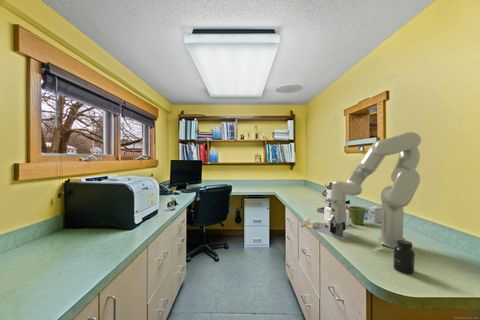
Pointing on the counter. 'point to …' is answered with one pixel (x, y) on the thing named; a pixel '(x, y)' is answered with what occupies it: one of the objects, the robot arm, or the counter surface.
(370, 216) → the light bulb box
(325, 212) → the cable organizer
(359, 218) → the plant pot
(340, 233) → the block
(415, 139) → the robot arm
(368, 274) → the counter surface
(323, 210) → the tray
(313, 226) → the board
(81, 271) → the counter surface
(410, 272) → the supplement bottle
